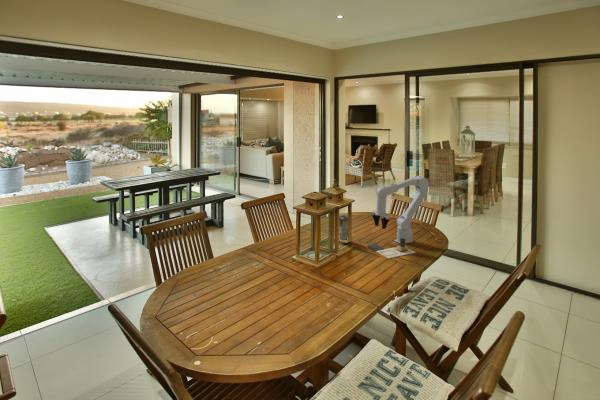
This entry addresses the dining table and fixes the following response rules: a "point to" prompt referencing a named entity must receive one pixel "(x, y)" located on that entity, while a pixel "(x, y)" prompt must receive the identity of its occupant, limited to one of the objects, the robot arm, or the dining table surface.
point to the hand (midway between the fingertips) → (380, 227)
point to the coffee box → (343, 227)
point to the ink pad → (374, 247)
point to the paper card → (394, 252)
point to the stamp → (402, 246)
